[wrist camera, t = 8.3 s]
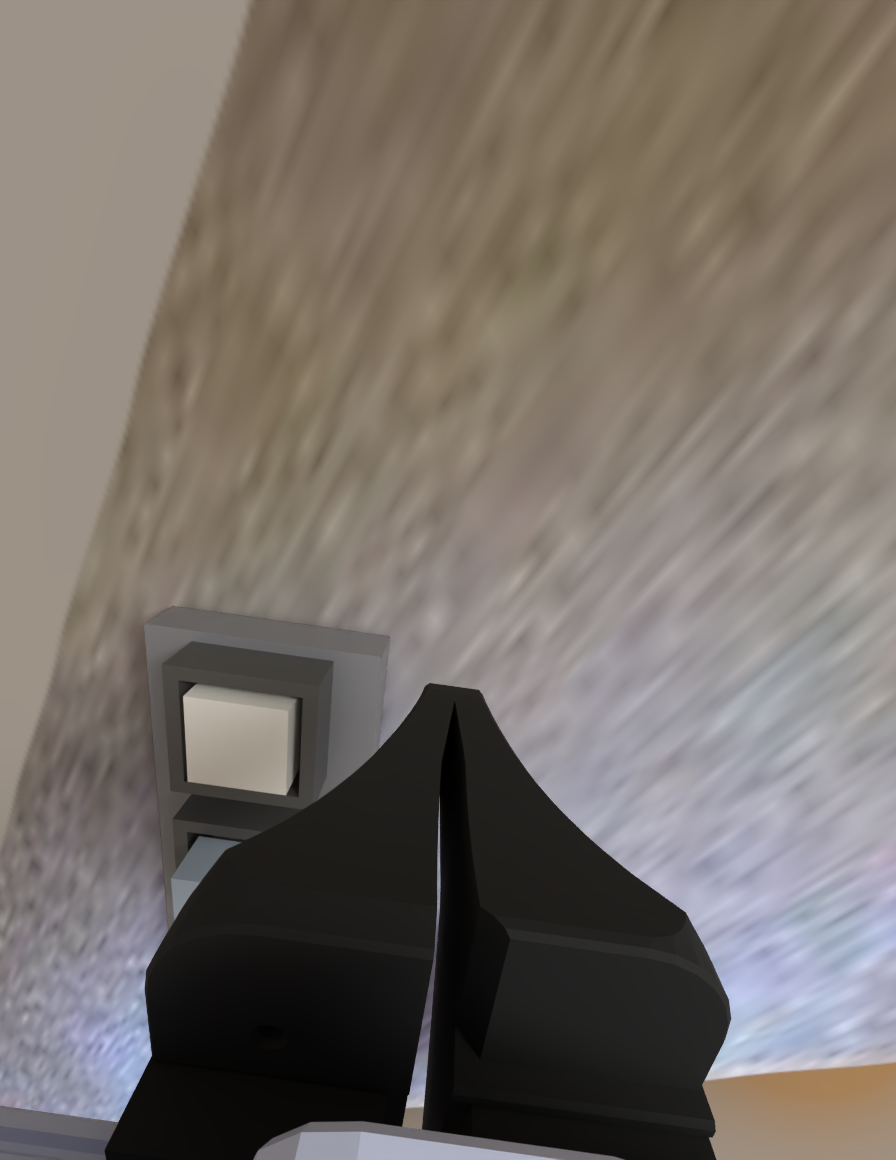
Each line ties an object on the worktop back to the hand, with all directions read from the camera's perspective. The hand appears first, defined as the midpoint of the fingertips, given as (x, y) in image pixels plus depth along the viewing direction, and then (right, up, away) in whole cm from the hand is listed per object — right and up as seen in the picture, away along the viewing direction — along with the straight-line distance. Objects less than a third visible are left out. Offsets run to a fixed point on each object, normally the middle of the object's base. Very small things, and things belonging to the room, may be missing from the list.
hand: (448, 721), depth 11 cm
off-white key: (-8, -2, +9) cm, 12 cm away
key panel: (-9, -9, +13) cm, 18 cm away
